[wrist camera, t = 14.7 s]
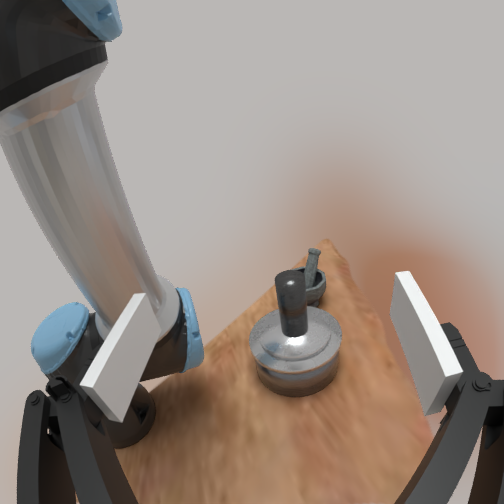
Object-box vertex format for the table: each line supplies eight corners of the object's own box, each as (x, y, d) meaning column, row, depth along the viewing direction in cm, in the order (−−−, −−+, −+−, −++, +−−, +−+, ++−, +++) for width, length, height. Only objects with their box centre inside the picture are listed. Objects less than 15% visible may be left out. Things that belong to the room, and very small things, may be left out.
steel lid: (245, 336, 50) (232, 281, 44) (295, 303, 55) (290, 250, 50) (294, 374, 41) (288, 316, 35) (345, 331, 46) (348, 273, 41)
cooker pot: (239, 365, 54) (231, 336, 50) (298, 324, 61) (295, 295, 58) (296, 414, 42) (293, 387, 38) (356, 359, 50) (360, 329, 46)
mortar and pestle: (311, 321, 62) (309, 275, 56) (277, 308, 67) (270, 264, 62) (336, 293, 68) (335, 249, 63) (303, 283, 74) (299, 241, 69)
